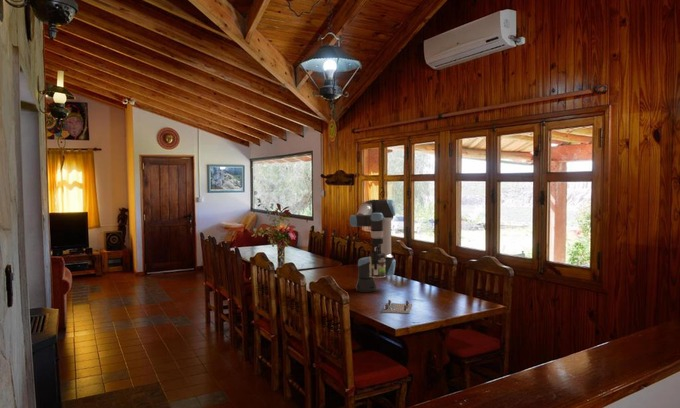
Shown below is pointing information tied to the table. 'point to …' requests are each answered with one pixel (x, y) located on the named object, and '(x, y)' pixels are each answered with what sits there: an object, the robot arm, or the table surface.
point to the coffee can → (380, 266)
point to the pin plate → (397, 307)
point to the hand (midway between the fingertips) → (377, 273)
